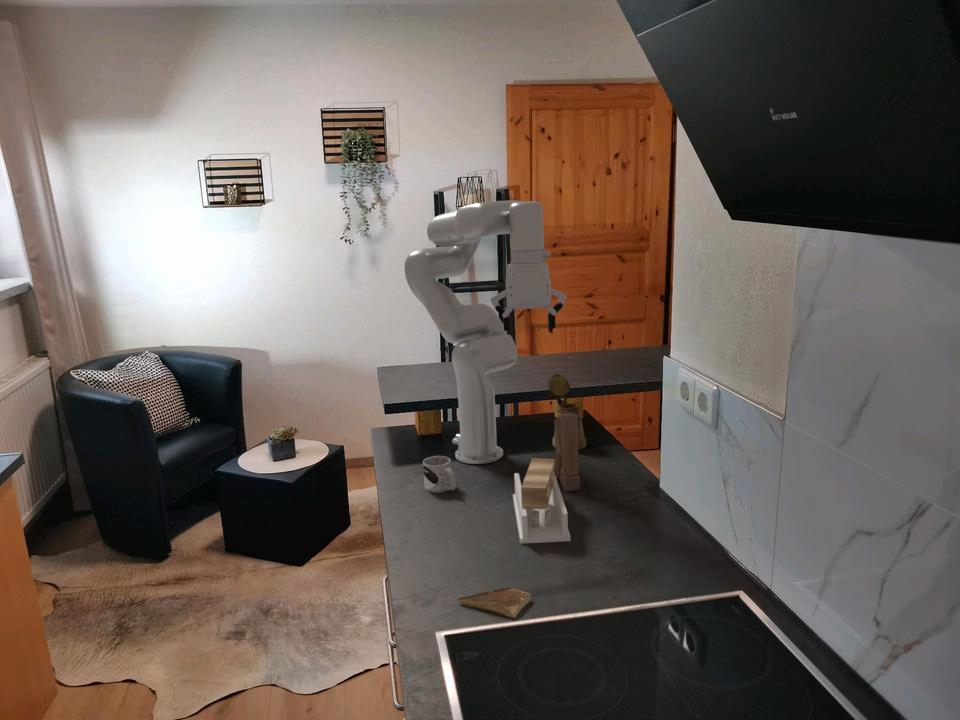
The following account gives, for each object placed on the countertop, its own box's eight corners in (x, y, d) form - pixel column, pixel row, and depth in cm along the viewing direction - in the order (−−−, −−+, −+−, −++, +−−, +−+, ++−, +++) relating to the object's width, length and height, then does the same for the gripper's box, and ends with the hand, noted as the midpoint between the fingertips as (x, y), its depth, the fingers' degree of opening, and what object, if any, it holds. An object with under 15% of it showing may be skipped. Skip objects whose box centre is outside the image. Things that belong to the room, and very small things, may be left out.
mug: (419, 487, 179) (417, 461, 177) (441, 479, 183) (440, 453, 181) (443, 499, 171) (442, 472, 170) (466, 491, 175) (465, 464, 174)
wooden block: (569, 473, 183) (568, 403, 179) (580, 490, 173) (579, 416, 168) (555, 474, 183) (553, 404, 178) (564, 492, 172) (563, 417, 168)
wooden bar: (532, 477, 166) (532, 458, 165) (555, 478, 165) (554, 459, 164) (521, 507, 151) (521, 487, 150) (546, 509, 150) (546, 488, 149)
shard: (457, 606, 129) (457, 597, 128) (479, 585, 135) (479, 576, 135) (513, 622, 123) (513, 612, 123) (533, 599, 130) (533, 590, 129)
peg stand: (570, 541, 149) (570, 513, 148) (520, 543, 149) (519, 515, 147) (556, 495, 170) (556, 471, 169) (512, 498, 170) (512, 473, 169)
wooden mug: (571, 432, 212) (570, 371, 208) (591, 448, 199) (590, 383, 195) (542, 436, 210) (540, 374, 205) (560, 452, 197) (558, 387, 193)
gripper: (563, 254, 171) (565, 327, 175) (488, 257, 171) (491, 331, 175) (568, 257, 164) (569, 334, 168) (489, 261, 163) (492, 338, 167)
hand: (529, 332), depth 171 cm, fingers open, 9 cm apart
